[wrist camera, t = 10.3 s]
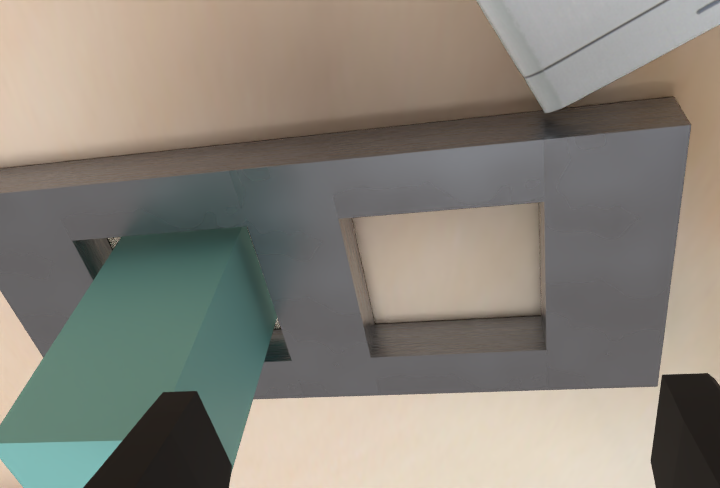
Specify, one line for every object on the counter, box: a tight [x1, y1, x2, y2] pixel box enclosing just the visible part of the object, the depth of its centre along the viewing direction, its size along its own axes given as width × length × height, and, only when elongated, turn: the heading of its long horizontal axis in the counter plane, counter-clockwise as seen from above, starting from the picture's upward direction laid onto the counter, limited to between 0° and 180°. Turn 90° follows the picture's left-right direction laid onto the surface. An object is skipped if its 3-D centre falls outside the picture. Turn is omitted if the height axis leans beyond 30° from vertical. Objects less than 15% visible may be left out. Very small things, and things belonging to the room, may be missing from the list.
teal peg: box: [0, 226, 277, 488], centre depth 19 cm, size 4×4×8 cm
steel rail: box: [0, 97, 691, 399], centre depth 21 cm, size 20×9×2 cm, turn 100°
